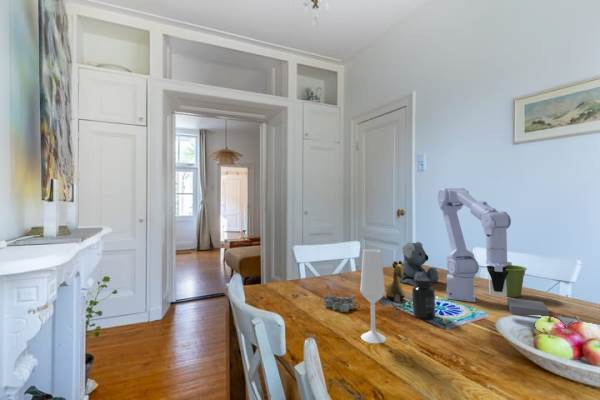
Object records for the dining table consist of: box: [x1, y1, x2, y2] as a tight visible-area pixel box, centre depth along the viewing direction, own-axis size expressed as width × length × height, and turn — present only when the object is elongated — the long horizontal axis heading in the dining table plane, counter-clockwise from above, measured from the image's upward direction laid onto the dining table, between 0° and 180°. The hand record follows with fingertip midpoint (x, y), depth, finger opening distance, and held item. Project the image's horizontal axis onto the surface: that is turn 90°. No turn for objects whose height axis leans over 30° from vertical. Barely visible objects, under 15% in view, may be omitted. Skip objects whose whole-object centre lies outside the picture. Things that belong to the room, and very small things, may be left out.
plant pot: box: [505, 264, 528, 298], centre depth 119 cm, size 12×12×11 cm
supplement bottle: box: [411, 278, 436, 320], centre depth 97 cm, size 7×7×12 cm
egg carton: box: [322, 295, 356, 313], centre depth 106 cm, size 11×8×4 cm
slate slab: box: [506, 297, 550, 317], centre depth 100 cm, size 10×10×3 cm
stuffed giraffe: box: [378, 260, 413, 308], centre depth 115 cm, size 16×18×16 cm
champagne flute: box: [359, 248, 387, 344], centre depth 81 cm, size 7×7×24 cm
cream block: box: [488, 276, 508, 298], centre depth 97 cm, size 4×4×5 cm
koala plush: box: [399, 241, 439, 287], centre depth 141 cm, size 17×18×20 cm
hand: (497, 289), depth 97 cm, fingers closed on cream block, 4 cm apart
